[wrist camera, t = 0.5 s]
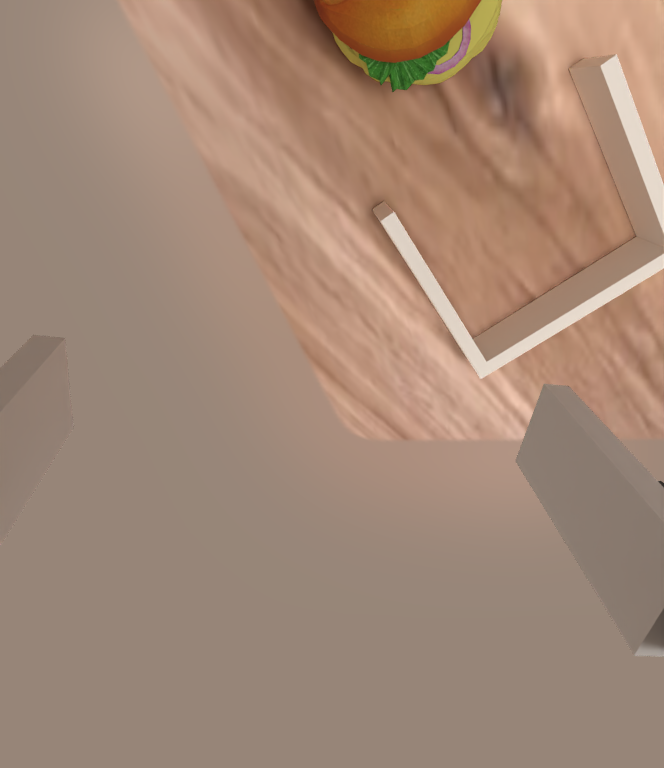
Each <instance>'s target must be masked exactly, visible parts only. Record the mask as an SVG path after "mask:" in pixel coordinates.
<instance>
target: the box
mask: <svg viewBox="0 0 664 768" xmlns="http://www.w3.org/2000/svg"><path fill="white" fill-rule="evenodd" d="M569 71H570V73H571V76H572V78H573V81H574V83H575V86H576V88H577V91H578V93H579V96H580V98H581V101H582V103H583V106H584V108H585V111H586V113H587V116H588V118H589V120H590V123H591V125H592V128H593V130H594V133H595V135H596V138H597V140H598V143H599V145H600V148H601V150H602V153H603V155H604V158H605V160H606V163H607V165H608V168H609V170H610V172H611V175H612V177H613V180H614V182H615V185H616V187H617V190H618V192H619V195H620V197H621V200H622V202H623V205H624V207H625V210H626V212H627V215H628V217H629V219H630V222H631V224H632V227H633V229H634V232H635V234H636V237H635V238H633V239H632V240H630V241H628V242H627V243H625V244H624V245H622V246H620V247H619V248H617V249H616V250H614V251H612V252H611V253H609V254H608V255H606V256H604V257H603V258H601V259H600V260H598V261H596V262H595V263H593V264H592V265H590V266H588V267H587V268H585V269H584V270H582V271H580V272H579V273H577V274H576V275H574V276H572V277H571V278H569V279H568V280H566V281H564V282H563V283H561V284H560V285H558V286H556V287H555V288H553V289H552V290H550V291H548V292H547V293H545V294H544V295H542V296H540V297H539V298H537V299H536V300H534V301H532V302H531V303H529V304H528V305H526V306H524V307H523V308H521V309H520V310H518V311H516V312H515V313H513V314H512V315H510V316H508V317H507V318H505V319H504V320H502V321H500V322H499V323H497V324H496V325H494V326H492V327H491V328H489V329H488V330H486V331H484V332H483V333H481V334H480V335H478V336H476V337H475V338H473V339H472V337H471V336H470V334H469V333H468V331H467V329H466V328H465V326H464V324H463V323H462V321H461V320H460V318H459V316H458V315H457V313H456V312H455V310H454V308H453V307H452V305H451V303H450V302H449V300H448V299H447V297H446V295H445V294H444V292H443V290H442V289H441V287H440V286H439V284H438V282H437V281H436V279H435V277H434V276H433V274H432V273H431V271H430V269H429V268H428V266H427V265H426V263H425V261H424V260H423V258H422V256H421V255H420V253H419V252H418V250H417V248H416V247H415V245H414V243H413V242H412V240H411V239H410V237H409V235H408V234H407V232H406V230H405V229H404V227H403V226H402V224H401V222H400V221H399V219H398V218H397V216H396V214H395V213H394V211H393V210H392V209H391V208H390V207H389V206H388V205H387V204H386V203H385V201H383V202H382V203H380V204H379V205H378V206H376V207H375V208H373V209H372V210H373V212H374V214H375V215H376V217H377V218H378V220H379V221H380V223H381V225H382V226H383V228H384V229H385V231H386V232H387V234H388V236H389V237H390V239H391V240H392V242H393V243H394V245H395V247H396V248H397V250H398V251H399V253H400V254H401V256H402V258H403V259H404V261H405V262H406V264H407V265H408V267H409V269H410V270H411V272H412V273H413V275H414V277H415V278H416V280H417V281H418V283H419V284H420V286H421V288H422V289H423V291H424V292H425V294H426V295H427V297H428V299H429V300H430V302H431V303H432V305H433V306H434V308H435V310H436V311H437V313H438V314H439V316H440V317H441V319H442V321H443V322H444V324H445V325H446V327H447V328H448V330H449V332H450V333H451V335H452V336H453V338H454V339H455V341H456V343H457V344H458V346H459V347H460V349H461V350H462V352H463V354H464V355H465V357H466V358H467V360H468V361H469V363H470V364H471V365H472V367H473V368H474V370H475V371H476V373H477V374H478V376H479V377H480V379H482V378H483V377H485V376H487V375H488V374H490V373H492V372H493V371H495V370H497V369H498V368H500V367H502V366H503V365H505V364H507V363H508V362H510V361H512V360H513V359H515V358H516V357H518V356H520V355H521V354H523V353H525V352H526V351H528V350H530V349H531V348H533V347H535V346H536V345H538V344H540V343H541V342H543V341H545V340H546V339H548V338H550V337H551V336H553V335H554V334H556V333H558V332H559V331H561V330H563V329H564V328H566V327H568V326H569V325H571V324H573V323H574V322H576V321H578V320H579V319H581V318H583V317H584V316H586V315H588V314H589V313H591V312H592V311H594V310H596V309H597V308H599V307H601V306H602V305H604V304H606V303H607V302H609V301H611V300H612V299H614V298H616V297H617V296H619V295H621V294H622V293H624V292H626V291H627V290H629V289H630V288H632V287H634V286H635V285H637V284H639V283H640V282H642V281H644V280H645V279H647V278H649V277H650V276H652V275H654V274H655V273H657V272H659V271H660V270H662V269H664V184H663V181H662V179H661V176H660V173H659V170H658V168H657V165H656V162H655V159H654V157H653V154H652V151H651V148H650V145H649V143H648V140H647V137H646V134H645V132H644V129H643V126H642V123H641V121H640V118H639V115H638V112H637V109H636V107H635V104H634V101H633V98H632V96H631V93H630V90H629V87H628V85H627V82H626V79H625V76H624V73H623V71H622V68H621V65H620V62H619V60H618V57H617V54H616V55H608V56H600V57H592V58H584V59H582V60H580V61H579V62H578V63H576V64H575V65H573V66H572V67H571V68H569Z"/></svg>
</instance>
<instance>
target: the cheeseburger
mask: <svg viewBox="0 0 664 768" xmlns="http://www.w3.org/2000/svg"><path fill="white" fill-rule="evenodd" d="M314 2H315V5H316V8H317V11H318V14H319V16H320V18H321V19H322V21H323V22H324V23H325V24H326V26H327V27H328V28H329V29H330V30H331V31H332V32H333V36H334V39H335V42H336V43H337V45H338V46H339V48H340V49H341V51H342V52H343V53H344V55H345V56H346V57H347V58H348V59H349V61H350V62H352V63H354V64H355V65H357V66H359V67H361V68H363V70H364V72H365V74H367V75H368V76H370V77H371V78H373V79H374V80H376V81H377V82H380V84H381V85H382V84H383V82H384V81H388V82H390V83H391V87H392V92H394V91H395V90H396V89H402V90H407V89H408V88H409V87H410V86H411V85H412V84H418V85H429V84H438V83H441V82H443V81H445V80H447V79H448V78H450V77H452V76H454V75H455V74H456V73H457V72H458V71H459V70H461V69H462V68H463V67H464V66H465V65H466V64H467V63H468V62H469V61H470V60H471V58H473V57H475V56H476V55H477V54H479V53H480V52H481V51H483V49H484V48H485V46H486V45H487V43H488V42H489V40H490V39H491V37H492V35H493V32H494V30H495V28H496V25H497V23H498V17H499V15H500V9H501V3H502V0H314Z"/></svg>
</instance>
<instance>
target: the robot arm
mask: <svg viewBox="0 0 664 768" xmlns="http://www.w3.org/2000/svg"><path fill="white" fill-rule="evenodd" d="M73 427H74V426H73V416H72V405H71V394H70V384H69V373H68V363H67V352H66V342H65V338H60V337H50V336H39V335H33V336H32V337H31V338H30V339H29V340H28V341H27V342H26V343H25V344H24V345H23V346H22V347H21V348H20V349H19V350H18V351H17V352H16V353H15V354H14V355H13V356H12V357H11V358H10V359H9V360H8V361H7V362H6V363H5V364H4V365H3V366H2V367H1V368H0V546H1V544H2V543H3V541H4V539H5V538H6V536H7V534H8V533H9V531H10V530H11V528H12V526H13V525H14V523H15V521H16V520H17V518H18V517H19V515H20V513H21V512H22V510H23V509H24V507H25V505H26V504H27V502H28V501H29V499H30V497H31V496H32V494H33V493H34V491H35V489H36V488H37V486H38V484H39V483H40V481H41V480H42V478H43V476H44V475H45V473H46V471H47V470H48V468H49V467H50V465H51V463H52V462H53V460H54V459H55V457H56V455H57V454H58V452H59V451H60V449H61V447H62V446H63V444H64V443H65V441H66V439H67V438H68V436H69V434H70V433H71V431H72V430H73ZM516 463H517V464H518V466H519V468H520V469H521V471H522V472H523V474H524V476H525V477H526V479H527V481H528V482H529V484H530V486H531V487H532V489H533V491H534V492H535V494H536V495H537V497H538V499H539V500H540V502H541V504H542V505H543V507H544V509H545V510H546V512H547V514H548V515H549V517H550V518H551V520H552V522H553V523H554V525H555V527H556V528H557V530H558V532H559V533H560V535H561V537H562V538H563V540H564V541H565V543H566V545H567V546H568V548H569V550H570V551H571V553H572V554H573V556H574V558H575V559H576V561H577V563H578V564H579V566H580V568H581V569H582V571H583V573H584V574H585V576H586V578H587V579H588V581H589V582H590V584H591V586H592V587H593V589H594V591H595V592H596V594H597V596H598V597H599V599H600V600H601V602H602V604H603V605H604V607H605V609H606V610H607V612H608V614H609V615H610V617H611V619H612V620H613V622H614V624H615V625H616V627H617V628H618V630H619V632H620V633H621V635H622V637H623V638H624V640H625V642H626V643H627V645H628V646H629V648H630V650H631V651H632V653H633V655H634V656H664V483H663V482H661V481H657V480H656V479H655V478H654V477H653V476H652V474H651V473H650V472H649V471H648V470H647V469H646V468H645V467H644V466H643V465H642V464H641V463H640V462H639V461H638V459H636V457H635V456H634V455H633V454H632V453H631V452H630V451H629V450H628V449H627V448H626V447H625V446H624V445H623V443H622V442H621V441H620V440H619V439H618V438H617V437H616V436H615V435H614V434H613V433H612V432H611V431H610V430H609V429H608V427H607V426H606V425H605V424H604V423H603V422H602V421H601V420H600V419H599V418H598V417H597V416H596V415H595V414H594V413H593V411H592V410H591V409H590V408H589V407H588V406H587V405H586V404H585V403H584V402H583V401H582V400H581V399H580V398H579V397H578V395H577V394H576V393H575V392H574V391H573V390H572V389H571V388H570V387H569V386H563V385H552V384H544V385H543V388H542V390H541V393H540V396H539V399H538V401H537V404H536V407H535V409H534V412H533V415H532V417H531V420H530V423H529V426H528V428H527V431H526V434H525V436H524V439H523V442H522V444H521V447H520V450H519V453H518V455H517V458H516Z"/></svg>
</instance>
